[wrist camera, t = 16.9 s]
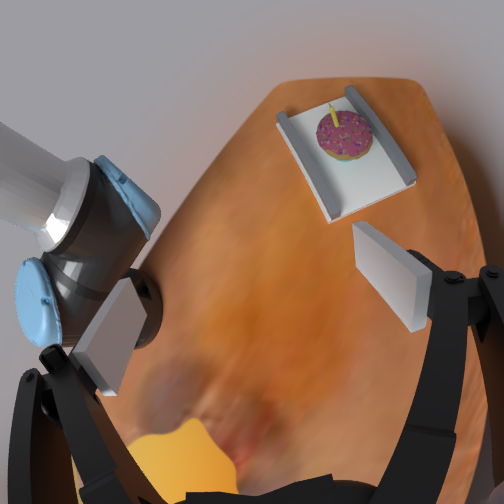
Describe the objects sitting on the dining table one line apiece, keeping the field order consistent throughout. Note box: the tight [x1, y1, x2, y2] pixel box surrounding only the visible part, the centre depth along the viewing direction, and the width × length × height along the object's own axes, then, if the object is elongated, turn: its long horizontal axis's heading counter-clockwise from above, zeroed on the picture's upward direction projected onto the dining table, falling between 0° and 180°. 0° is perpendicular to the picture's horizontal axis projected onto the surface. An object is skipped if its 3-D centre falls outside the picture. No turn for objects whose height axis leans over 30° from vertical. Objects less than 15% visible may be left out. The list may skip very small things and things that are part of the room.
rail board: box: [276, 85, 418, 224], centre depth 41 cm, size 20×16×4 cm
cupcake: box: [316, 103, 373, 162], centre depth 36 cm, size 9×8×12 cm
